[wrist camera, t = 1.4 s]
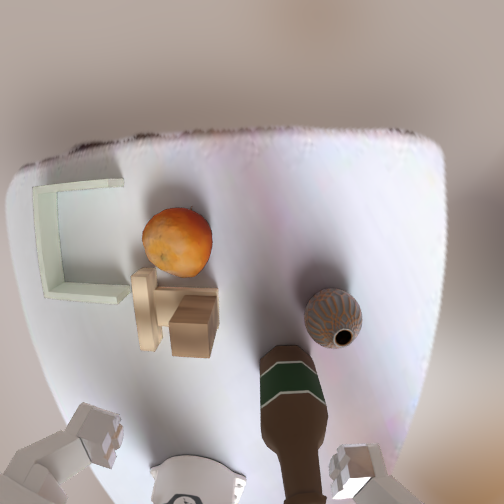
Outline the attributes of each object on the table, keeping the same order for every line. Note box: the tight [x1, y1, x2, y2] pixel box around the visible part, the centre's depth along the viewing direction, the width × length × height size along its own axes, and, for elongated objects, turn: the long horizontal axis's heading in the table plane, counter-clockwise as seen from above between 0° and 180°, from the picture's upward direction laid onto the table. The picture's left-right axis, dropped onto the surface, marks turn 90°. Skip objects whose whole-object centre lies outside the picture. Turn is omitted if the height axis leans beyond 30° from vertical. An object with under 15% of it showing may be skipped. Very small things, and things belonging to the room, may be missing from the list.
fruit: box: [142, 206, 213, 278], centre depth 35 cm, size 8×8×8 cm
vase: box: [304, 288, 362, 349], centre depth 35 cm, size 7×7×9 cm
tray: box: [33, 179, 131, 305], centre depth 36 cm, size 15×12×4 cm
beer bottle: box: [260, 345, 328, 504], centre depth 30 cm, size 8×8×24 cm
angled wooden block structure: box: [131, 268, 219, 358], centre depth 35 cm, size 10×10×10 cm
